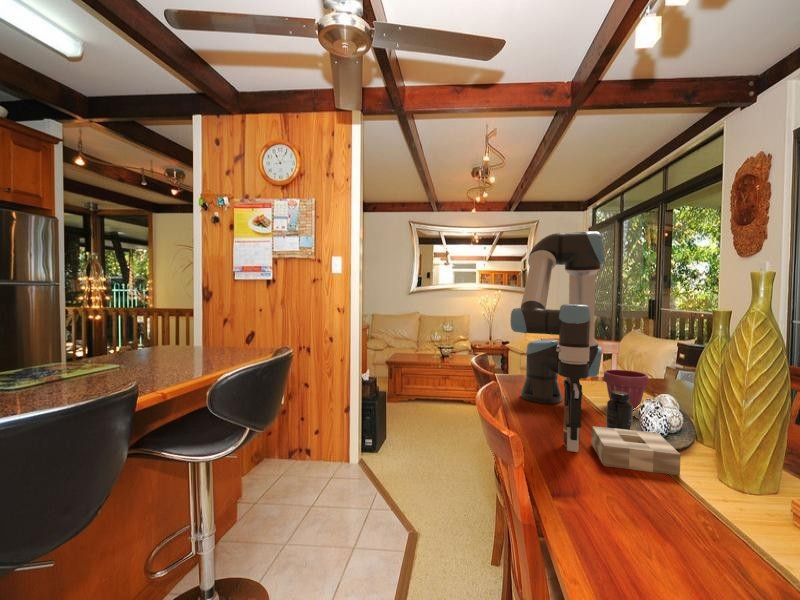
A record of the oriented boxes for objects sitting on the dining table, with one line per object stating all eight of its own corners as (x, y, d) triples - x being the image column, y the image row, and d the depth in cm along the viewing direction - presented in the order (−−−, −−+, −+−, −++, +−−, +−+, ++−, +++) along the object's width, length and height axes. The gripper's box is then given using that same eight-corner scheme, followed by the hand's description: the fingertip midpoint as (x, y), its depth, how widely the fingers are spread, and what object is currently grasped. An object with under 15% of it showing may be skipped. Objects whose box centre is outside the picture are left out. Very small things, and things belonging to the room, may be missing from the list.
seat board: (591, 443, 106) (592, 426, 106) (657, 451, 102) (657, 432, 102) (603, 465, 93) (604, 445, 93) (679, 475, 88) (680, 454, 88)
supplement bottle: (635, 436, 112) (637, 396, 112) (610, 434, 113) (611, 394, 113) (626, 428, 119) (628, 390, 118) (603, 426, 120) (604, 389, 120)
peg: (561, 444, 106) (562, 405, 105) (578, 446, 105) (579, 406, 104) (563, 450, 102) (564, 409, 101) (581, 452, 101) (582, 411, 100)
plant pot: (602, 399, 151) (603, 367, 151) (644, 404, 145) (645, 371, 144) (603, 409, 138) (604, 374, 138) (649, 415, 132) (650, 378, 132)
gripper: (554, 355, 112) (552, 434, 112) (562, 366, 95) (560, 458, 96) (582, 357, 110) (580, 437, 110) (595, 368, 93) (593, 462, 94)
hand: (571, 447), depth 103 cm, fingers closed on peg, 4 cm apart
